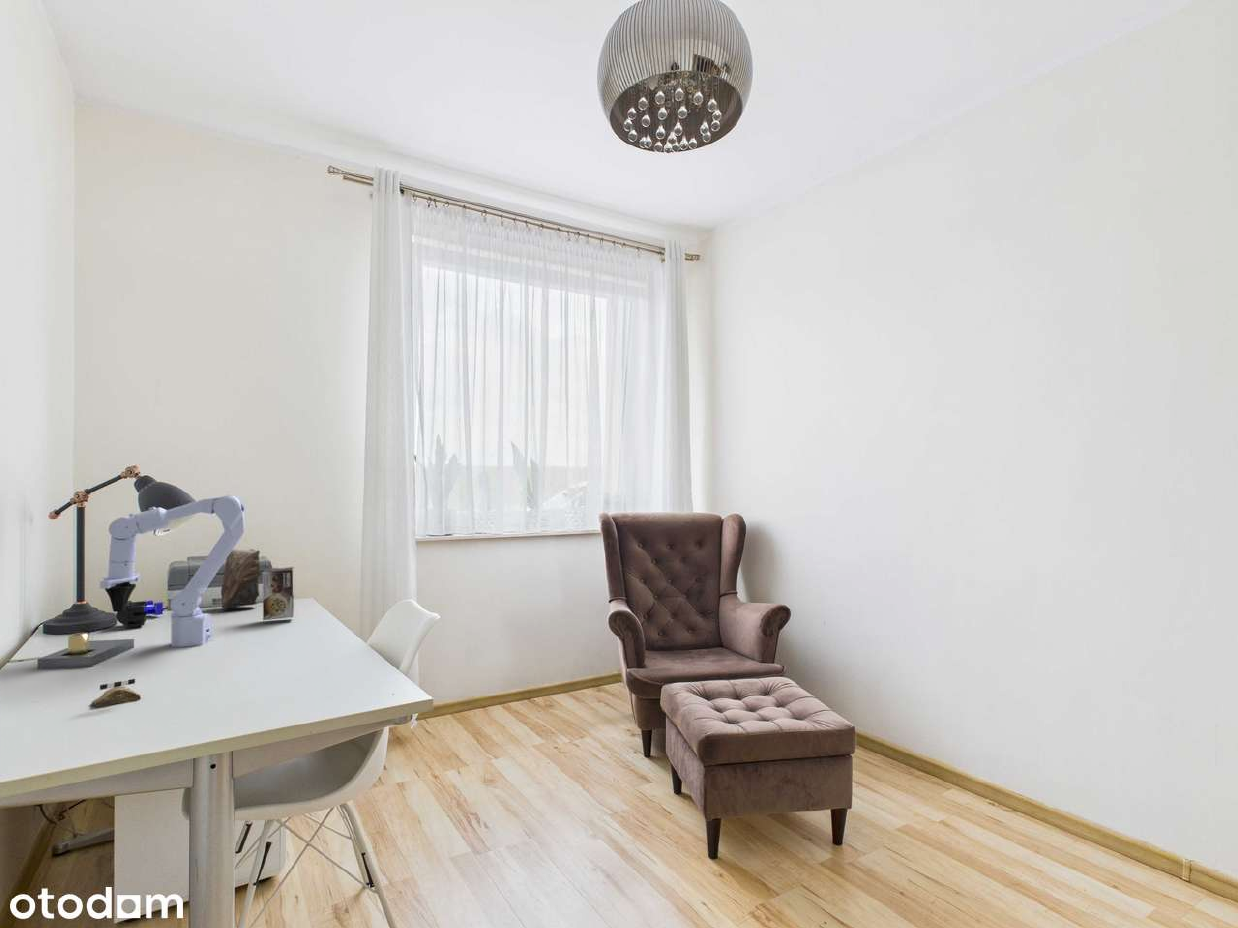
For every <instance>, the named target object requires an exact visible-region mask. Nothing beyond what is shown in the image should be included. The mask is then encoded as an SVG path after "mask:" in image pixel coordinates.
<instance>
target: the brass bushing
mask: <svg viewBox="0 0 1238 928" xmlns="http://www.w3.org/2000/svg"><path fill="white" fill-rule="evenodd" d="M67 637H68V638H67V640H68V641H67V642H68V643H67V644H68V645H67V648H68V656H72V655H84V654H87V653H88V645H89V641H90V640H89V639H90V638H89V632H77V633H73V634H69V635H68V636H67Z"/></svg>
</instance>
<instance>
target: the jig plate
mask: <svg viewBox="0 0 1238 928" xmlns="http://www.w3.org/2000/svg"><path fill="white" fill-rule="evenodd" d="M132 649H135V638H129V639H128V638H127V639H126V638H124V639H120V638H119V639H102V640H101V639H100V640H99V639H98V640H89V645H88V653H87V654H84V655H72V656H68V647H65V648H63V649H61V650H58V651H55V652H53V653H50V654H48V655H46V656H42V657H41V658H40V657H39V658H37V666H36V667H37V670H43V669H44V670H45V669H64V668H65V669H66V668H67V669H68V668H69V669H70V668H71V669H72V668H90V667H91V668H92V667H94V666H96V665H98V664H100V663H103V662H105V661H107V660H110V659H112V658H114V657H117V656H118V655H121V654H123V653H125V652H127V651H130V650H132ZM41 668H42V669H41Z"/></svg>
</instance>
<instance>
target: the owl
mask: <svg viewBox="0 0 1238 928" xmlns="http://www.w3.org/2000/svg"><path fill="white" fill-rule="evenodd" d="M260 553H261V551H260V550H255V549H246V550H245V549H235V548H233V550H232V551H231V553H230V554H229V556H228V557H227V559H226V560H225V564H224V572H223V573H224V574H223V578H222V579H223V580H222V585H221V590H220V593H221V608H222V610H223V609H225V610H226V609H231V608H232V609H233V608H239V607H240V608H241V607H247V606H255V605H258V602H257V599H258V597H259V596H260V590H259V587H260V585H259V580H260V578H261V575H262V571H261V568H260V558H259V557H260Z"/></svg>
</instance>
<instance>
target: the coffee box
mask: <svg viewBox="0 0 1238 928" xmlns="http://www.w3.org/2000/svg"><path fill="white" fill-rule="evenodd" d="M294 568H295V567H294V566H291V567H290V566H289V567H276V568H275V567H274V568H273V567H272V568H264V570H263V571H262V599H263V601H262V605H263V606H262V610H263V611H262V613H263V614H262V615H263V619H262V620H263V621H268V620H278V619H289V618H290V619H291V618H294V617H295V584H294V583H295V577H294V573H295V570H294Z"/></svg>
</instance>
